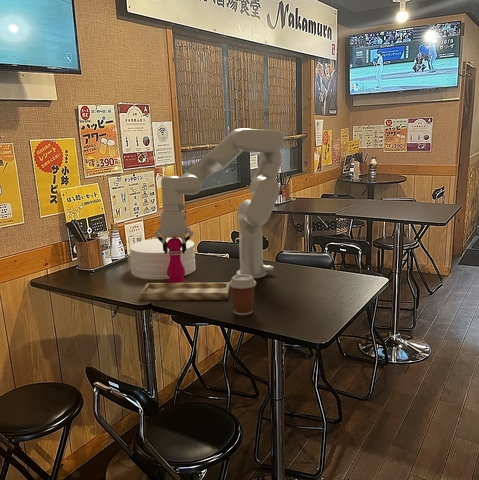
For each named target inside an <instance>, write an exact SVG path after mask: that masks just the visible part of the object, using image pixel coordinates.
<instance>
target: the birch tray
mask: <svg viewBox="0 0 479 480" xmlns="http://www.w3.org/2000/svg"><path fill="white" fill-rule="evenodd" d="M229 282H230V281H229ZM229 282H184V283H169V282H147V283H146V284H145V285H144V287H143V288H142V289H141V290H140V292H139V294H138V295H139V300H140V301H165V300H166V301H169V300H170V301H175V300H178V301H179V300H180V301H183V300H185V301H186V300H188V301H189V300H190V299H193V300H192V301H194V299H195V300H198V301H199V300H200V301H201V300H228V299H229V294H230V291H231V287H230V286H229ZM190 301H191V300H190Z"/></svg>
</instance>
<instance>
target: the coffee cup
mask: <svg viewBox="0 0 479 480" xmlns="http://www.w3.org/2000/svg"><path fill="white" fill-rule="evenodd" d="M229 286H230V291H231V292H230V293H231V299H232V308H233V313H234V314H235V315H238V316H248V315H251V314H252V313H253V311H254V296H255V295H254V294H255V287H256V286H257V281H256V280H255V279H253V277H252V276H251V275H246V274H240V275H237V274H235V275H233V276H232V277H231V279H230V281H229Z"/></svg>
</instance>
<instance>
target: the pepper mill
mask: <svg viewBox="0 0 479 480" xmlns="http://www.w3.org/2000/svg"><path fill="white" fill-rule="evenodd" d="M170 238H171V239H169V240H168V242H167V248H168V249H169V254H170V263H169V266H168V269H167V275H168V276H169V277H170V278H169V279H168V283H185V277H184V274H185V269H184V266H183V264H182V262H181V258H180V254H181V250H180V249H181V247H182V242H181V240H180V239H178V238H179V237H170Z"/></svg>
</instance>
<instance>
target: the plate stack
mask: <svg viewBox="0 0 479 480" xmlns="http://www.w3.org/2000/svg"><path fill="white" fill-rule="evenodd" d="M171 238H172V237H167V240H166V242H168V240H169V239H171ZM177 238H178V239H180V240H181V238H180V237H177ZM181 242H182V240H181ZM180 250H181V254H180V258H181V262H182V264H183V266H184V269H185V274H184V276H188V275H189V274H192V273H193V272H195V270H196V259H195V258H196V255H195V253H196V252H195V251H196V250H195V242H194V241H193V240H191V239H189V240H188V241H187V242H186V251H185V253H182V247H181V249H180ZM129 251H130V252H129V257H130V268H131V270H130V271H131V273H130V274H131V275H133V276H134V277H136V278H139V279H144V280H169V278H170V277H169V276H168V275H167V269H168V266H169V263H170V254H169V249H168V252H167V253H166V254H165V252H164V251H163V244H162V242H161V241H159V240H158V238H150V239H144V240H140V241H137V242H134V243H132V244H131V245H130V246H129ZM184 276H183V277H184Z"/></svg>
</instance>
